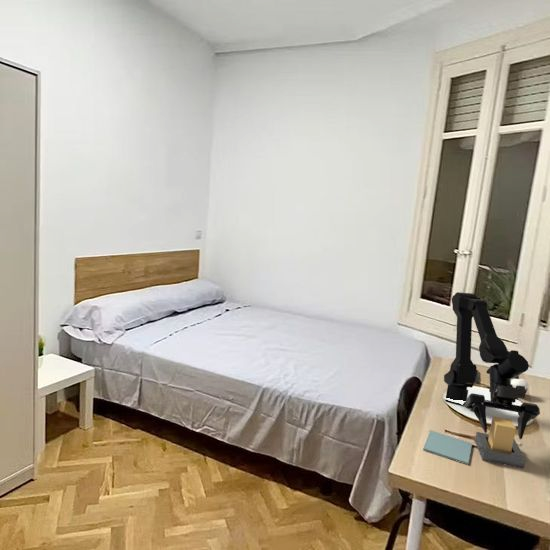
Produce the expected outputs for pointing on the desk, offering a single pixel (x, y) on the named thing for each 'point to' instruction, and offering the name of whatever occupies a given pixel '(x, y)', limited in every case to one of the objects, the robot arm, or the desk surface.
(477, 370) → the phone
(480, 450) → the square-hole plate
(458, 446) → the rubber mat
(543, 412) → the desk surface
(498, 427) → the ochre square block
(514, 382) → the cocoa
